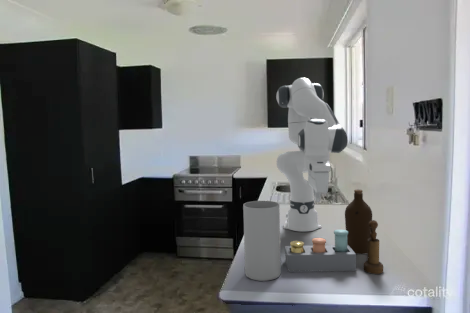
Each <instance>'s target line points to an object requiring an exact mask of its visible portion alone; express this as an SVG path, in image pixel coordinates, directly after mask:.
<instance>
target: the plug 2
mask: <svg viewBox="0 0 470 313" xmlns="http://www.w3.org/2000/svg"><path fill="white" fill-rule="evenodd" d="M311 243H312V246H313V253H321V252H325V245H326V243H327V240H326V239H325V238H322V237H314V238H312V239H311Z"/></svg>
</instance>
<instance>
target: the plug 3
mask: <svg viewBox="0 0 470 313" xmlns="http://www.w3.org/2000/svg"><path fill="white" fill-rule="evenodd" d="M333 234H334V245H335V252H347V235H348V231H346V229H335V230H333Z"/></svg>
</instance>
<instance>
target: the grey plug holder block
mask: <svg viewBox="0 0 470 313" xmlns="http://www.w3.org/2000/svg"><path fill="white" fill-rule="evenodd" d="M284 254H285V256H284V258H285V260H284V261H285V265H286V270H287V272H354V271H356V272H357V254H355V252H354V251H353V250H352V249H351V248H350V246H349V245H347V252H335V244H332V245H331V244H330V245H329V244H328V245H326V244H325V252H321V253H313V245H304V246H303V253H291V246H290V245H285V246H284Z"/></svg>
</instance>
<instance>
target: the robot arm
mask: <svg viewBox="0 0 470 313" xmlns="http://www.w3.org/2000/svg"><path fill="white" fill-rule="evenodd" d="M275 95H276V96H275V97H276V101H277V104H278V106H279V107H280V108H285V109H286V108H288V114H287V123H288V124H287V126H288V138H289V140H290V142H292V143H294V144H296V145H297V148H298V149H299V150H293V151H285V152H283V153H280V154H279V155H278V156H277V158H276V167H277V170H278V171H279V172H280V173H282V174H283V175H284V177H286V179H287V181H288V183H289V190H290V200H289V207H290V208H289V210H288V211H287V212H286V213H285V218H286V219H285V222H284V225H283V229H284V230H285V229H286V230H290V231H295V232H312V231H317V229H321V228H322V225H321V224H319V220H318V219H319V218H318V216H319V215H318V211H317V210H316V209H315V202H317V203H319V202H321V197H322V194H327V193H328V191H329V181H330V173H329V172H331V171H332V169H331V162H330V160H331V158H330V156H331V155H330V153H332V154H333V153H334V154H340V153H342V152H343V151H344V150H345V149H346V148H347V146H348V135H347V134H348V133H347V132H346V130H345V129H344V128H343V127H342V126H341V124H340V122H339V120H338V118H337V117H336V115H335V113H334V111H333V110H332V108H331V107H330V105H329V104H328V103H327V102H325V101H324V96H325V95H324V89H323V86H322V85H321V84H320V83H317V82H316V83H315V82H312V81H311V80H310V79H309V78H307V77H299V78H297V79H295V80H294V81H293V82H292V84H290V85H286V84H285V85H282V86H280V87H279V88H278V89H277V92H276V94H275ZM304 173H307V179H305V177H304Z"/></svg>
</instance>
